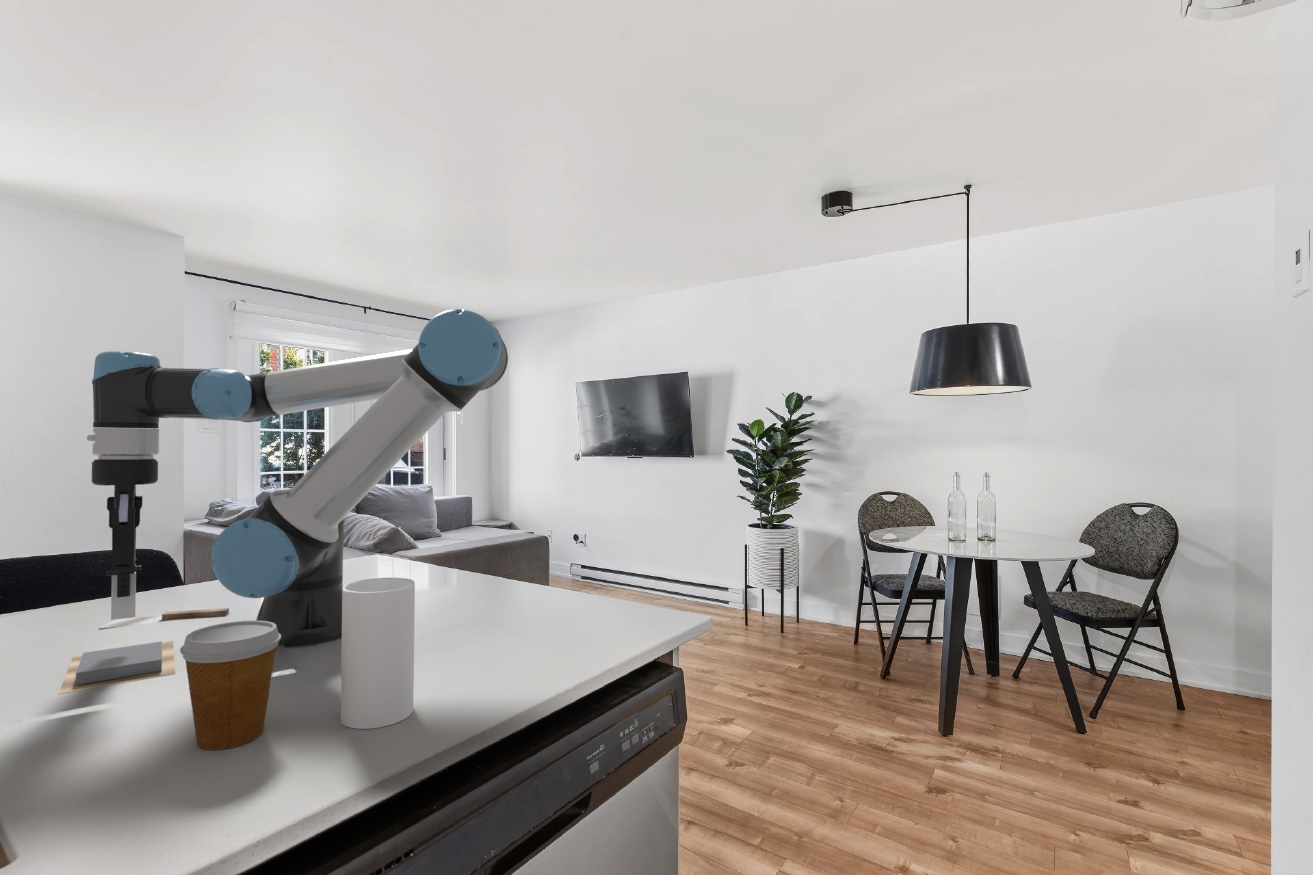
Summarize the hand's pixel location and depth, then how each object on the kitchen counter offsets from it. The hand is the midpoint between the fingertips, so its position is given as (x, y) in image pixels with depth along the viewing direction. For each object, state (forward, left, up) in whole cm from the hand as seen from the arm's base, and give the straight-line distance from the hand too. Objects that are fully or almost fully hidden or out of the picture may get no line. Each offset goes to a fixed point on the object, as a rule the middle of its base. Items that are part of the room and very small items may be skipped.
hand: (123, 617), depth 94 cm
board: (-1, +1, -7) cm, 7 cm away
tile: (+1, -1, -6) cm, 6 cm away
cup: (-46, +10, -7) cm, 47 cm away
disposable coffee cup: (-33, +18, -7) cm, 38 cm away
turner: (+14, -21, -7) cm, 27 cm away
